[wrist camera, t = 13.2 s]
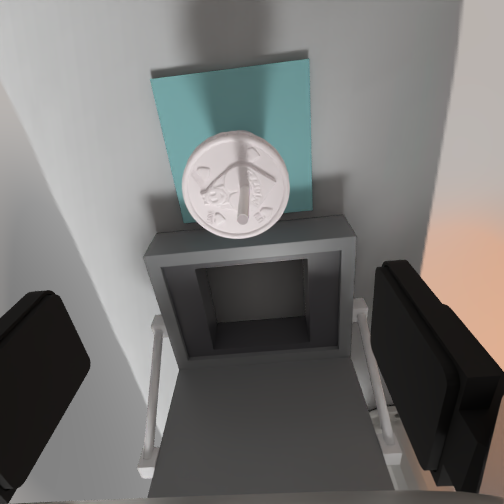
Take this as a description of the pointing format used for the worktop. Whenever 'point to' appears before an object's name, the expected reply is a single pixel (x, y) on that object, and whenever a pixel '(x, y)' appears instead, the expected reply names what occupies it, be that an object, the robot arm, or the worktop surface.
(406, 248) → the worktop surface
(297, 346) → the case
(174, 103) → the mat
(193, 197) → the smoothie
